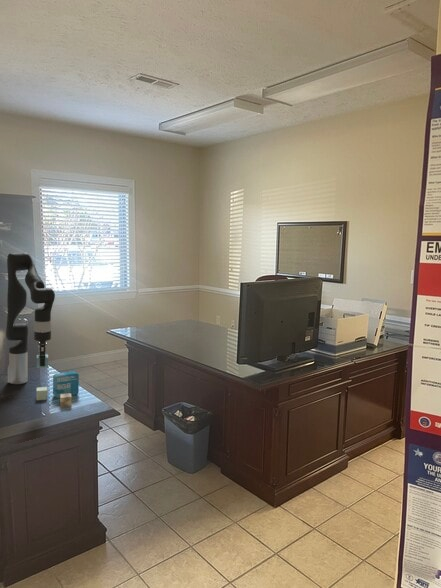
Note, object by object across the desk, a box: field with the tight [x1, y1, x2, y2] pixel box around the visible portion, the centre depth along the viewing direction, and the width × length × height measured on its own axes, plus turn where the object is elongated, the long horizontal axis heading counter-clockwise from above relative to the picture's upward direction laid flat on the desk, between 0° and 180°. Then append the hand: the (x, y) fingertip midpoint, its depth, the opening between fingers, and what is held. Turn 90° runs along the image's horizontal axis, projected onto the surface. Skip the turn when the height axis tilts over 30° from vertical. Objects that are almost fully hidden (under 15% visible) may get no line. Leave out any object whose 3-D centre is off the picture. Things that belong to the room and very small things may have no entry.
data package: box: [52, 370, 80, 399], centre depth 224 cm, size 12×4×12 cm, turn 127°
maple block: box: [59, 393, 72, 408], centre depth 212 cm, size 5×5×5 cm
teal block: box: [36, 354, 49, 369], centre depth 206 cm, size 5×5×5 cm
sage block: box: [36, 386, 48, 401], centre depth 219 cm, size 5×5×5 cm
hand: (42, 364), depth 206 cm, fingers closed on teal block, 5 cm apart
